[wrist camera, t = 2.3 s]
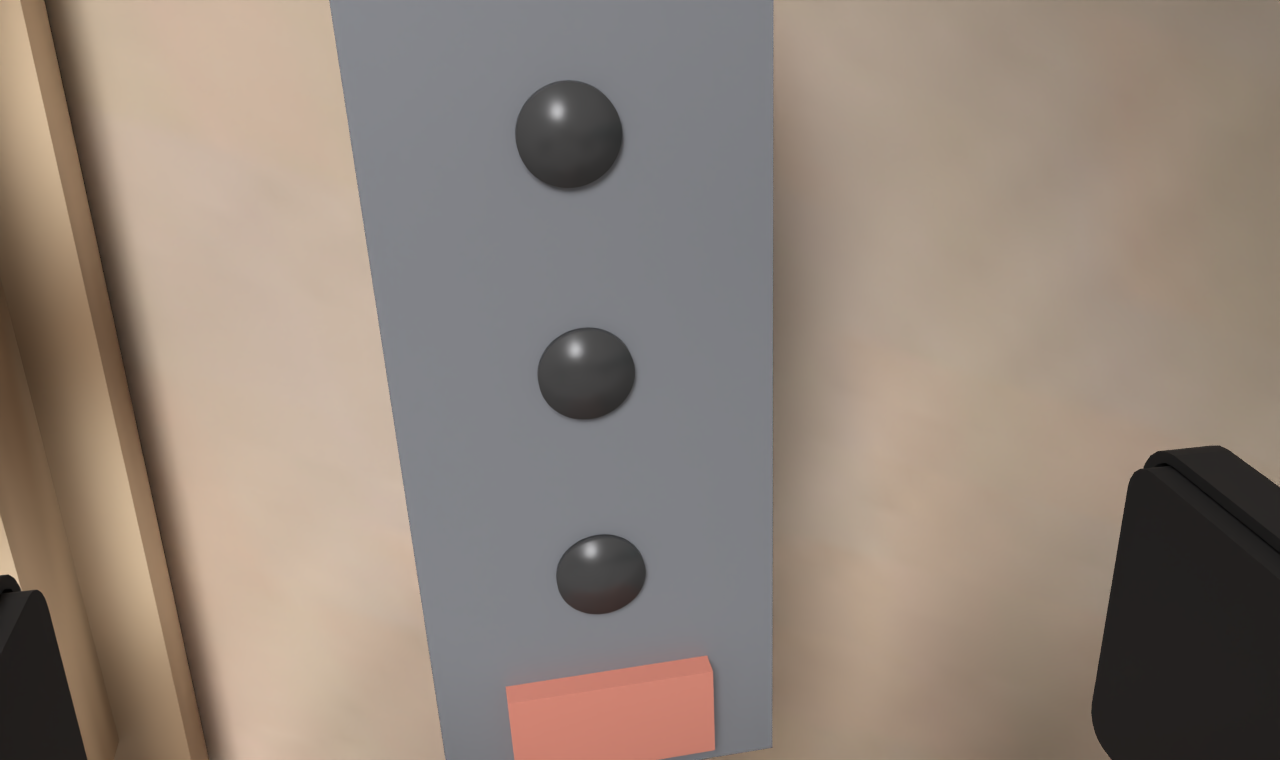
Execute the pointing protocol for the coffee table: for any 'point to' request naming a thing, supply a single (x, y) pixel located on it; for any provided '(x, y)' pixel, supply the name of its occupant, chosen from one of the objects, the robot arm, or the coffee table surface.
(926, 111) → the coffee table surface
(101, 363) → the wooden tray
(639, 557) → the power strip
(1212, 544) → the robot arm
